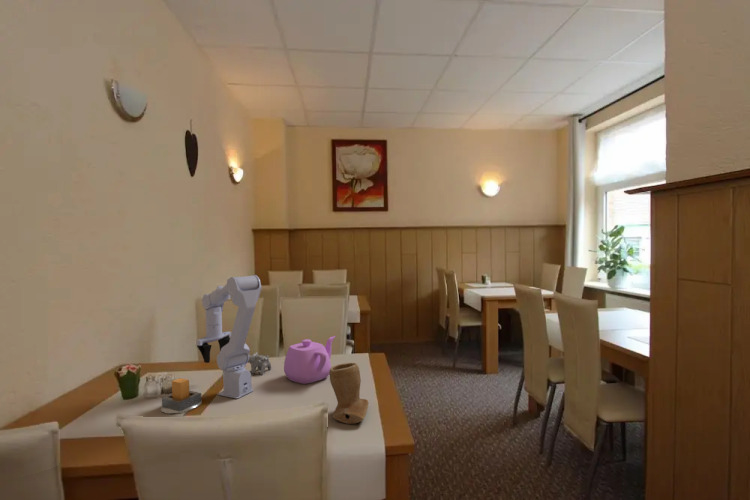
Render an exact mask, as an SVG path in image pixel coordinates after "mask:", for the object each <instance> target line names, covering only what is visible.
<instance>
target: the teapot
mask: <svg viewBox="0 0 750 500" xmlns="http://www.w3.org/2000/svg"><path fill="white" fill-rule="evenodd" d="M335 338H336V335H333V336H330V337H329V338H328V339H327V340H326V343H325V345H324V344H323V343H320V342H317V341H312V340H311V339H309V338H308V339H306V338H305V339H302V340H301V342H300V343H295V344H292V345H291V344H290V345H289V347H288V350H287V353H286V355H285V358H284V362H283V363H284V364H283V372H284V374H285V376H286V378H288V379H289V380H290V381H292V382H294V383H299V384H302V385H305V384H306V385H307V384H310V383H311V384H312V383H314V382H317V381H320V380H323V379H325V378H328V377H329V376H330V375H329V370H330V369H331V367H332V365H331V364H332V363H331V360H330V359H331V357H332V343H333V341H334V339H335Z"/></svg>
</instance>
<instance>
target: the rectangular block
mask: <svg viewBox="0 0 750 500" xmlns="http://www.w3.org/2000/svg"><path fill="white" fill-rule="evenodd" d="M189 391H190V380H189V379H186V378H176V379H175V380H172V381H171V392H172V393H171V394H172V398H173V399H177V400H182V399H185V398H187V397H189V396H190V394H189Z"/></svg>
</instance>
